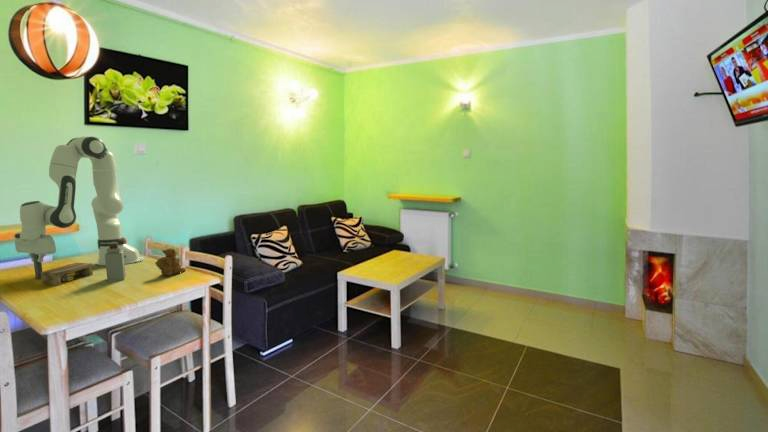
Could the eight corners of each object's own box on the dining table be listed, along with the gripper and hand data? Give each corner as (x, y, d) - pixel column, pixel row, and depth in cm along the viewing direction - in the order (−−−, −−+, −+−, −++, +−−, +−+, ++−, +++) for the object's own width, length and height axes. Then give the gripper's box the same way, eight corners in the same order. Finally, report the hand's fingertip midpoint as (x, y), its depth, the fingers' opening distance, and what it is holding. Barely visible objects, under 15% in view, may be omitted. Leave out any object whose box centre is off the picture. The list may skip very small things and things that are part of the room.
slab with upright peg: (29, 279, 192) (26, 255, 190) (43, 275, 199) (41, 252, 197) (53, 281, 189) (50, 256, 188) (67, 276, 196) (64, 253, 195)
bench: (42, 284, 184) (40, 272, 183) (77, 274, 202) (76, 262, 201) (58, 285, 182) (56, 273, 182) (92, 274, 200) (91, 263, 199)
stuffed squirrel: (187, 270, 209) (185, 246, 207) (172, 278, 195) (170, 252, 193) (168, 270, 209) (166, 246, 207) (152, 278, 195) (150, 252, 194)
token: (75, 278, 195) (74, 276, 195) (73, 280, 191) (73, 278, 191) (63, 279, 193) (63, 277, 193) (61, 282, 189) (61, 280, 189)
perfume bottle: (107, 281, 189) (103, 245, 186) (109, 278, 195) (106, 242, 192) (124, 279, 192) (120, 244, 189) (125, 276, 198) (122, 241, 195)
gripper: (58, 234, 193) (61, 261, 195) (24, 232, 197) (27, 259, 199) (45, 236, 187) (48, 264, 189) (10, 234, 191) (14, 262, 193)
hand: (37, 261), depth 194 cm, fingers closed on slab with upright peg
